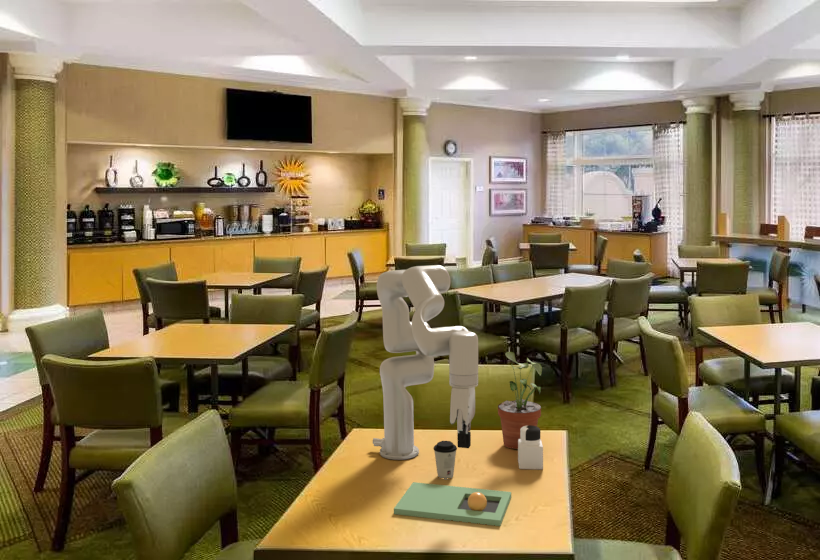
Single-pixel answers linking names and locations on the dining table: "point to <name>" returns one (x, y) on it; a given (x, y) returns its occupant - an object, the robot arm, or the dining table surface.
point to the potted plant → (518, 408)
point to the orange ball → (477, 501)
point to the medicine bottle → (530, 448)
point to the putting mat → (452, 503)
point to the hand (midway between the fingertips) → (464, 446)
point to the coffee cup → (445, 458)
